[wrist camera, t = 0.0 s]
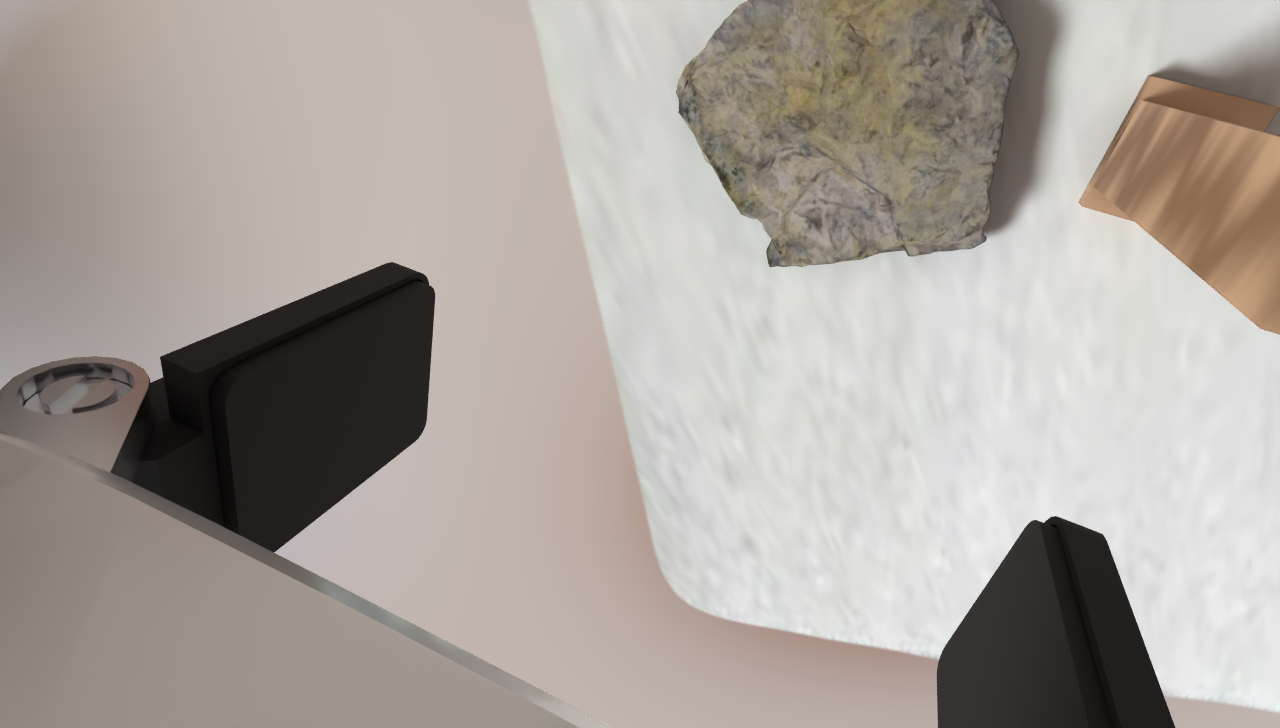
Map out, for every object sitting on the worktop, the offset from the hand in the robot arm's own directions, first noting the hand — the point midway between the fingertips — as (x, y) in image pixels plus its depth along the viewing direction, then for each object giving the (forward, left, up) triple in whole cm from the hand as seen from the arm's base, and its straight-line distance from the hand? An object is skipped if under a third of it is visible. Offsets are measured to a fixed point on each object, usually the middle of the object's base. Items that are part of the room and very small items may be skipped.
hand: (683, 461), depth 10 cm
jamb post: (-4, +13, -31) cm, 34 cm away
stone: (-2, 0, -32) cm, 32 cm away
